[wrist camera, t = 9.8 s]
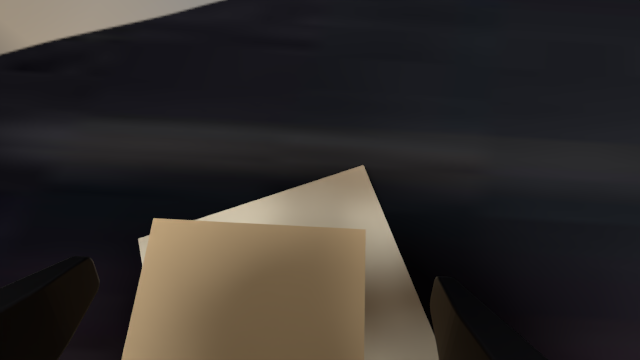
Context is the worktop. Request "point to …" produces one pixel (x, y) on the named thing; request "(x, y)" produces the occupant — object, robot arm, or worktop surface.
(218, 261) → the ochre block
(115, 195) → the worktop surface
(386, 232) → the birch board
